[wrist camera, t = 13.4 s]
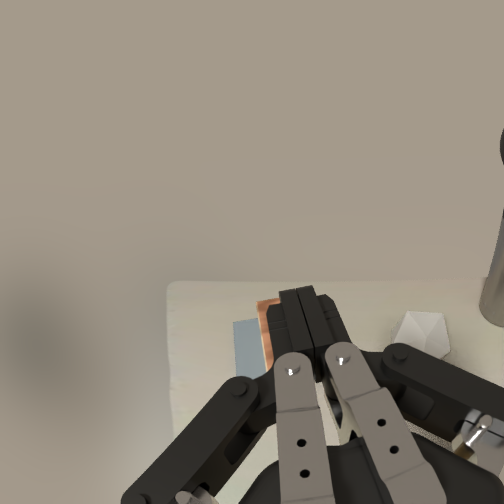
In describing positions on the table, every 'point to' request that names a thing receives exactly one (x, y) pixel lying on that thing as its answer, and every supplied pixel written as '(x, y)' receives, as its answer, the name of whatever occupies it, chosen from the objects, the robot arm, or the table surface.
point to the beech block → (265, 330)
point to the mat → (248, 349)
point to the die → (423, 332)
